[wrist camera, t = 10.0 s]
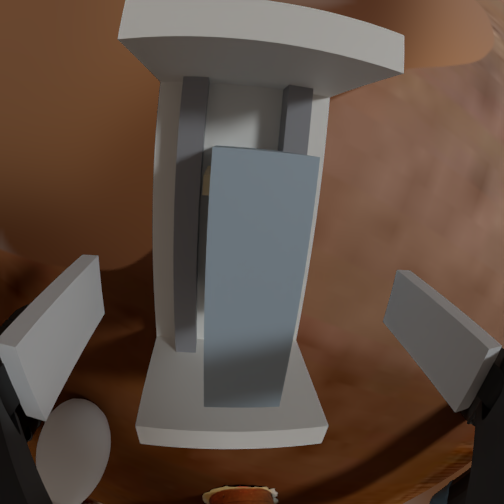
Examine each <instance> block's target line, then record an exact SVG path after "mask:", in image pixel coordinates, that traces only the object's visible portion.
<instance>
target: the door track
mask: <svg viewBox="0 0 504 504" xmlns="http://www.w3.org/2000/svg"><path fill="white" fill-rule="evenodd" d="M118 40H119V41H120V42H121V43H122V44H123V45H124V46H125V47H126V48H127V49H128V50H129V51H130V52H131V53H132V54H133V55H134V56H135V57H136V58H137V59H138V60H139V61H140V62H141V63H142V64H143V65H144V66H145V67H146V68H147V69H148V70H149V71H150V72H151V73H152V74H153V75H154V76H155V77H156V78H157V79H158V80H159V81H160V90H159V100H158V111H157V124H156V136H155V153H154V174H153V218H152V223H153V226H152V228H153V229H152V231H153V233H152V235H153V280H154V302H155V318H156V332H157V337H156V341H155V345H154V349H153V353H152V356H151V360H150V364H149V368H148V372H147V376H146V381H145V385H144V389H143V393H142V398H141V402H140V406H139V411H138V415H137V420H136V425H135V427H136V430H137V434H138V438H139V441H140V444H148V445H158V446H168V447H182V448H201V449H257V448H276V447H290V446H301V445H310V444H319V443H322V440H323V438H324V436H325V433H326V431H327V428H328V423H327V421H326V418H325V415H324V413H323V410H322V407H321V405H320V402H319V399H318V397H317V394H316V391H315V389H314V386H313V383H312V381H311V378H310V376H309V373H308V370H307V368H306V365H305V362H304V360H303V357H302V355H301V352H300V349H299V347H298V344H297V342H296V337H297V332H298V327H299V321H300V316H301V311H302V305H303V299H304V294H305V288H306V282H307V276H308V270H309V264H310V257H311V251H312V244H313V238H314V231H315V224H316V217H317V209H318V202H319V194H320V186H321V178H322V170H323V161H324V152H325V143H326V133H327V123H328V112H329V100H330V97H332V96H335V95H337V94H340V93H343V92H346V91H349V90H352V89H355V88H358V87H361V86H364V85H367V84H370V83H373V82H377V81H380V80H383V79H386V78H390V77H393V76H397V75H400V74H404V35H401V34H399V33H396V32H393V31H391V30H388V29H385V28H382V27H379V26H376V25H373V24H370V23H367V22H363V21H360V20H357V19H354V18H350V17H346V16H343V15H339V14H335V13H330V12H327V11H322V10H318V9H313V8H309V7H304V6H298V5H292V4H287V3H281V2H274V1H267V0H126V1H125V5H124V10H123V14H122V19H121V24H120V29H119V35H118ZM216 145H218V146H233V147H247V148H258V149H268V150H276V151H283V152H290V153H297V154H303V155H309V156H315V157H320V163H319V172H318V180H317V188H316V196H315V204H314V212H313V219H312V226H311V233H310V240H309V247H308V254H307V260H306V267H305V273H304V279H303V285H302V291H301V297H300V303H299V309H298V314H297V320H296V325H295V331H294V336H293V342H292V347H291V352H290V357H289V362H288V367H287V372H286V377H285V382H284V387H283V391H282V396H281V401H280V405H279V407H251V408H225V407H204V304H205V270H206V245H207V224H208V206H209V196H207V195H202V193H203V176H204V173H205V171H206V169H207V167H208V166H211V160H212V147H214V146H216Z"/></svg>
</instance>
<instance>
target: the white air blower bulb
mask: <svg viewBox="0 0 504 504" xmlns="http://www.w3.org/2000/svg"><path fill="white" fill-rule="evenodd" d="M110 447H111V435H110V429H109V425H108V421H107V418H106V416H105V414H104V413H103V412H102V411H101V410H100V409H99V407H98V406H97V405H95V404H94V403H92V402H90V401H88V400H86V399H70V400H67V401H65V402H63V403H62V404H60V405H59V406H58V407H56V408H55V409H54V410H53V411H52V413H51V414H50V415H49V417H48V419H47V421H46V422H45V423H44V426H43V428H42V430H41V433H40V436H39V440H38V444H37V451H36V468H37V470H38V473H39V475H40V477H41V480H42V482H43V484H44V486H45V488H46V491H47V493H48V495H49V497H50V499H51V501H52V503H53V504H81V503H82V502H83V501H84V500H85V499H86V498H87V497H88V496H89V495H90V494H91V493H92V491H93V490H94V489H95V487H96V486H97V484H98V483H99V481H100V479H101V477H102V475H103V473H104V471H105V468H106V465H107V462H108V459H109V454H110Z"/></svg>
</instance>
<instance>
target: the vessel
mask: <svg viewBox="0 0 504 504" xmlns="http://www.w3.org/2000/svg"><path fill="white" fill-rule="evenodd" d="M277 494H278V493H277V492H275V488H274V489H268V488H267V487H247V486H237V487H233V486H224V487H221V488H216V489H212V490H211V491H210V492H207V493H204V494H203V495H202V497H203V501H204V503H206V504H277V503H278V499H276V498H274V497H276V496H277Z"/></svg>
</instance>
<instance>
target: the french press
mask: <svg viewBox="0 0 504 504" xmlns="http://www.w3.org/2000/svg"><path fill="white" fill-rule="evenodd" d="M15 412H16V414H17V415H18V416H19V421H20V424H21V427H22V430H23V433H24V436H25V439H26V442H28V441H30V440H31V439H32V437H33V435H34V433H35V431H36V429H37V428H38V427H39V426H40V423H41V420H39V419H36V418H33V417H29V416H26V414H25V412H24V410H23V408H22V406H21V404H20V402H19V404H18V406H17V407H16V409H15Z"/></svg>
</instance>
